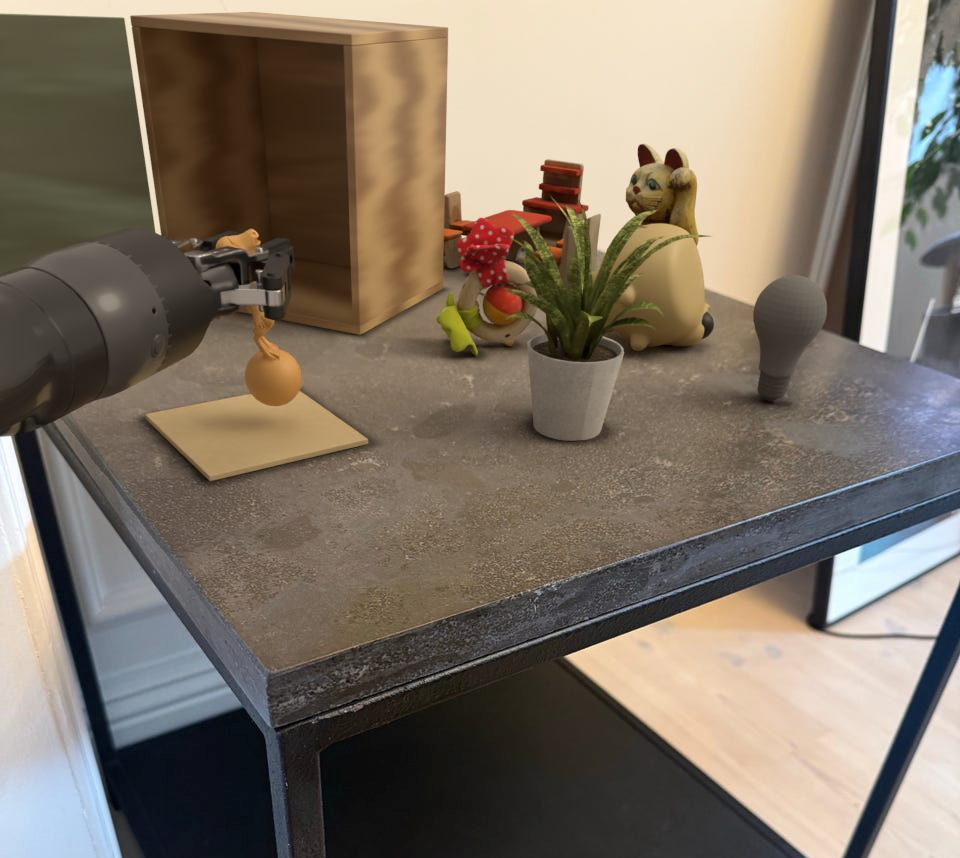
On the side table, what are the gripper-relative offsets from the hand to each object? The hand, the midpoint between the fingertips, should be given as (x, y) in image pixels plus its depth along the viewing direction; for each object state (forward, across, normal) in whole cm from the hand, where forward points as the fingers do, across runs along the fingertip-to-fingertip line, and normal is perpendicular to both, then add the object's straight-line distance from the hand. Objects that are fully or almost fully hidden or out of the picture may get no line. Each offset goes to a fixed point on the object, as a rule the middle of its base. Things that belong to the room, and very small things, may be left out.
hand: (260, 250), depth 65 cm
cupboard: (+30, +12, +12) cm, 34 cm away
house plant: (+8, -22, +12) cm, 26 cm away
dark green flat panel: (+16, +34, +11) cm, 39 cm away
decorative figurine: (+44, -22, +12) cm, 50 cm away
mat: (-3, 0, +12) cm, 12 cm away
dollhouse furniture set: (+53, -4, +11) cm, 54 cm away
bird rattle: (+22, -10, +12) cm, 27 cm away
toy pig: (+30, -23, +12) cm, 40 cm away
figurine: (-3, 0, +10) cm, 10 cm away
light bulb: (+20, -35, +12) cm, 42 cm away
